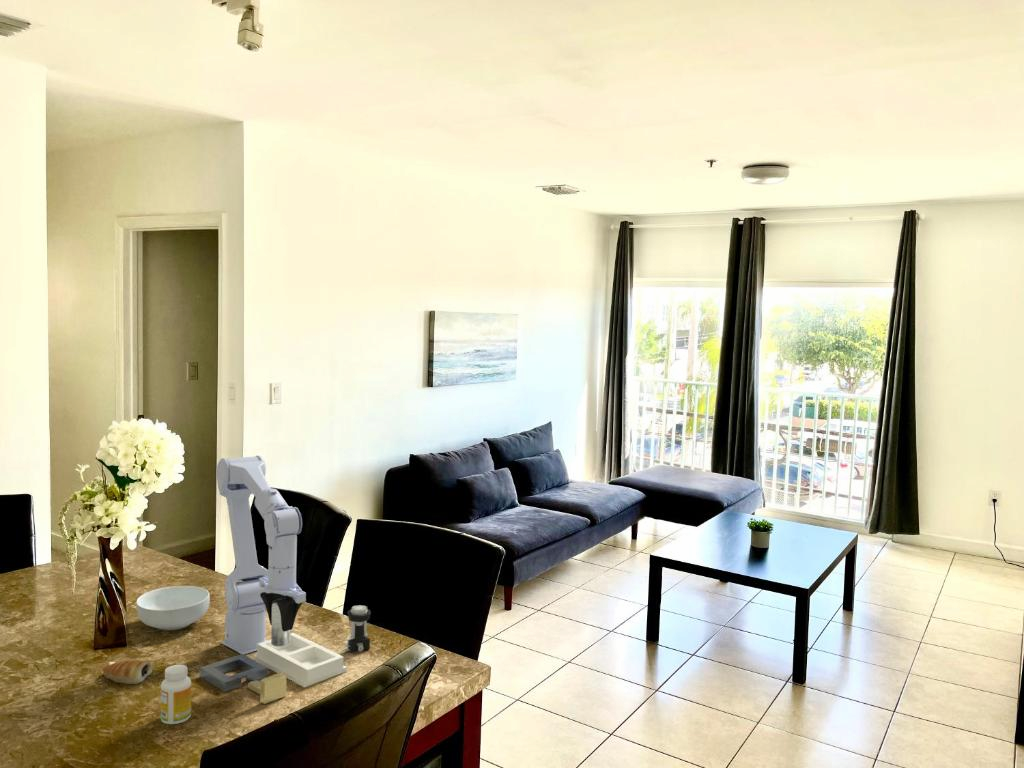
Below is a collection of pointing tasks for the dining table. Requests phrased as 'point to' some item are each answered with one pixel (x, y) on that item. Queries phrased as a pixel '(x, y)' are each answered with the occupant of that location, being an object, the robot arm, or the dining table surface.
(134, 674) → the pastry
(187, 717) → the supplement bottle
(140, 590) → the dining table surface
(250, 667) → the socket
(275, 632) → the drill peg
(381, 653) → the dining table surface
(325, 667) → the tray
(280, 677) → the cream block
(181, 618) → the cereal bowl
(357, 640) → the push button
